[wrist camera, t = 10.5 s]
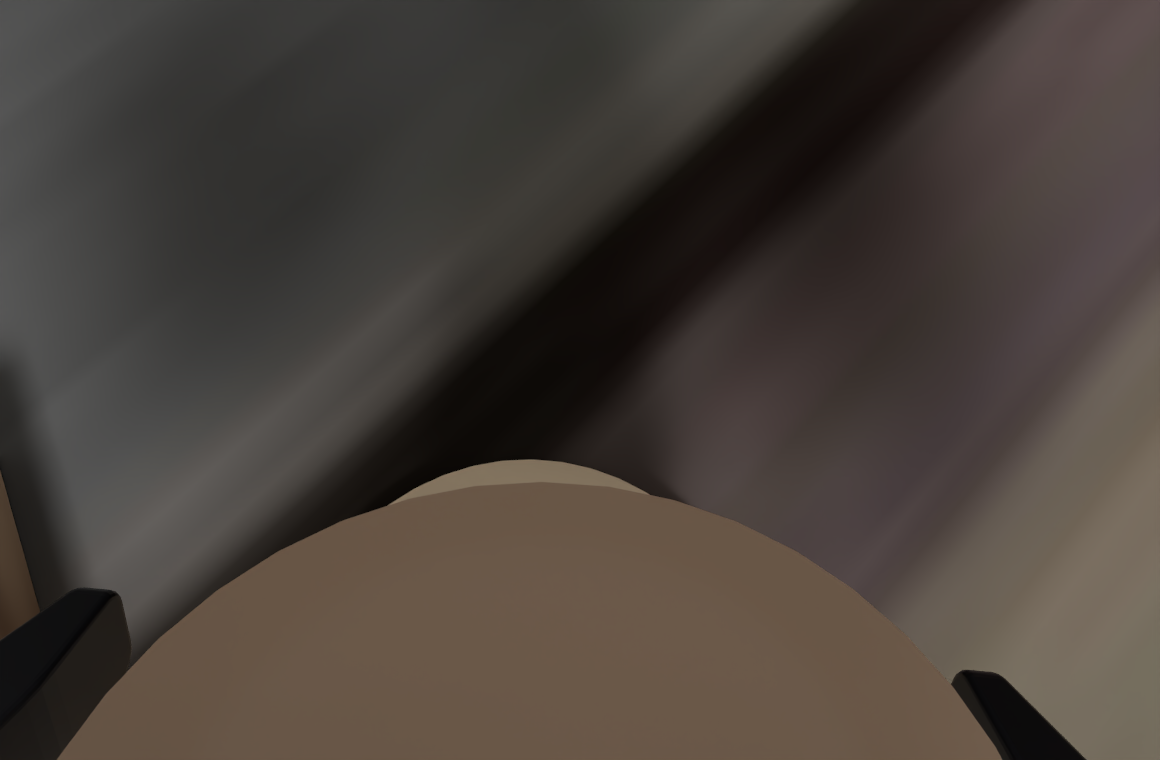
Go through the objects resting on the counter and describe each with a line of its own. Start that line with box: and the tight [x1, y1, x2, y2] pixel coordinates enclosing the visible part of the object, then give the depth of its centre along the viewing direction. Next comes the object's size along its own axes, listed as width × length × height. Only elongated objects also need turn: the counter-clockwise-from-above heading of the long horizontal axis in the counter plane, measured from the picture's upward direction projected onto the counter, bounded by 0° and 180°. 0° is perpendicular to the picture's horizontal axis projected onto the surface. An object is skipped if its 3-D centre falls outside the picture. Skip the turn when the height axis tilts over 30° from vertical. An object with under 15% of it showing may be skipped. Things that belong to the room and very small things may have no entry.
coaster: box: [388, 459, 649, 506], centre depth 18 cm, size 9×9×1 cm
